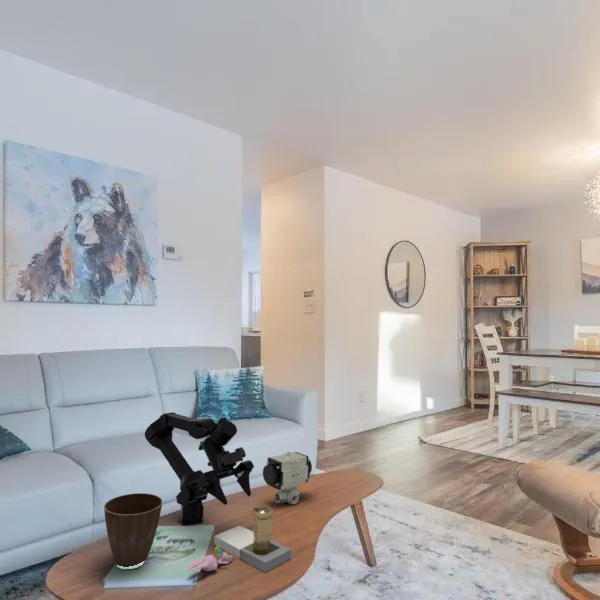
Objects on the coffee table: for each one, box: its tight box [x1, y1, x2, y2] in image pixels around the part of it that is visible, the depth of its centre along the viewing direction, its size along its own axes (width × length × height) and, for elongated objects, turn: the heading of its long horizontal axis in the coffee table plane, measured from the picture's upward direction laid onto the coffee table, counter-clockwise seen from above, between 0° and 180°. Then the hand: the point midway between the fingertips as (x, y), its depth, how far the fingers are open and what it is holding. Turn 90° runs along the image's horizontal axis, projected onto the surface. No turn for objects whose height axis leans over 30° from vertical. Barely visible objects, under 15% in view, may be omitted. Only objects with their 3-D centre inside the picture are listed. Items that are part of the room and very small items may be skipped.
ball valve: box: [262, 451, 313, 505], centre depth 173 cm, size 18×8×18 cm, turn 131°
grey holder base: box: [213, 525, 292, 573], centre depth 136 cm, size 22×10×2 cm, turn 49°
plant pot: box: [103, 492, 163, 567], centre depth 128 cm, size 15×15×16 cm
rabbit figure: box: [188, 546, 236, 573], centre depth 126 cm, size 6×6×15 cm
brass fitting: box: [251, 505, 274, 557], centre depth 134 cm, size 6×6×13 cm
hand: (238, 499), depth 141 cm, fingers open, 9 cm apart
